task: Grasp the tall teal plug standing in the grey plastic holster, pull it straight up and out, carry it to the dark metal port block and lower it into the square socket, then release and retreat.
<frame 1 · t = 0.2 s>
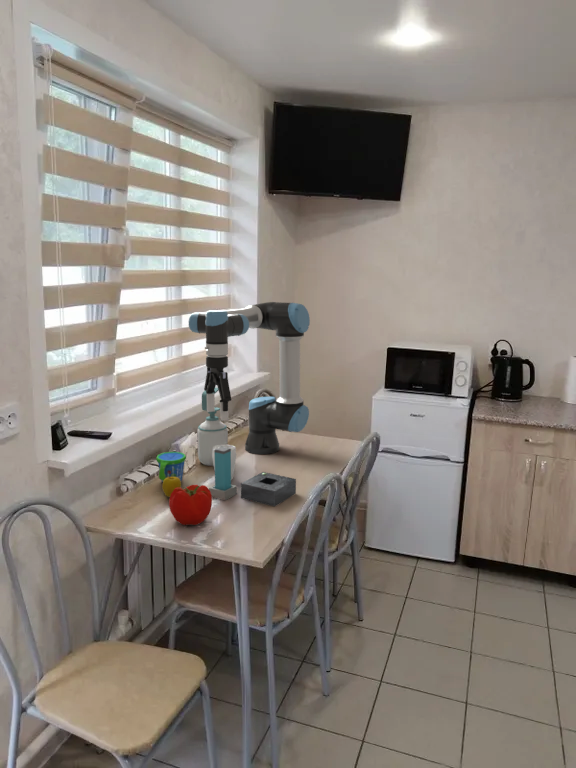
hand: (217, 415, 212), 28 cm above the table, fingers open, 13 cm apart
snack cup: (171, 482, 227), on the table
port: (268, 495, 214), on the table
cup: (224, 478, 231), on the table
apple: (172, 497, 213), on the table
tomato: (191, 521, 193), on the table
holster: (223, 494, 215), on the table
plug: (223, 495, 215), resting in holster
soap bottle: (213, 462, 249), on the table
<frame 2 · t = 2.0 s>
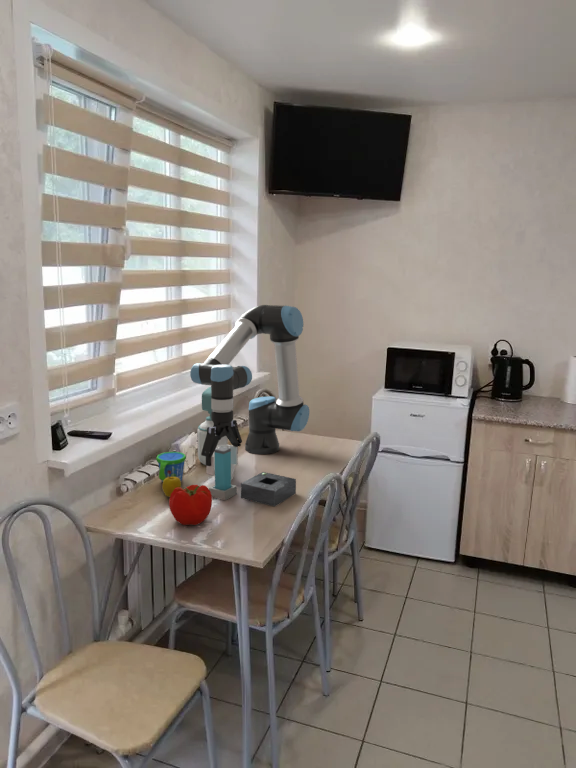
hand: (222, 469, 212), 10 cm above the table, fingers open, 13 cm apart
nothing on the table moved.
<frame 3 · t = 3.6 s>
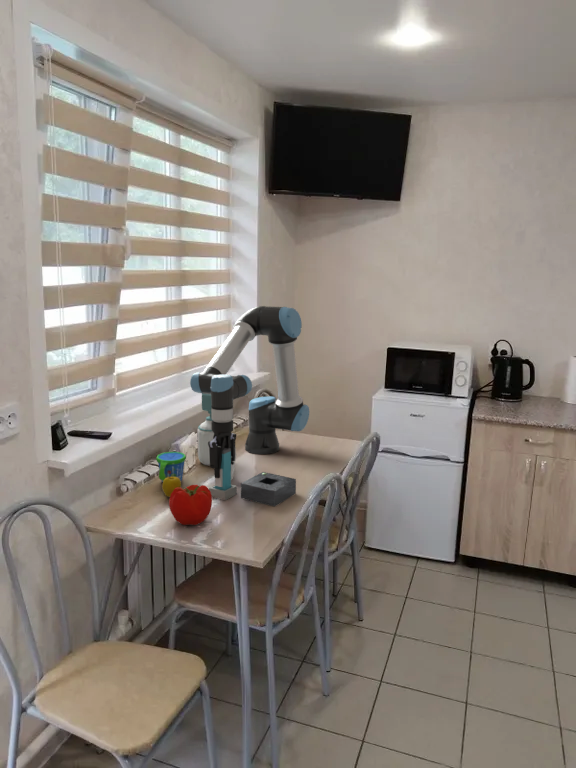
hand: (223, 483, 214), 4 cm above the table, fingers closed on plug, 4 cm apart
plug: (223, 494, 215), resting in holster, touching gripper
everything else where it was.
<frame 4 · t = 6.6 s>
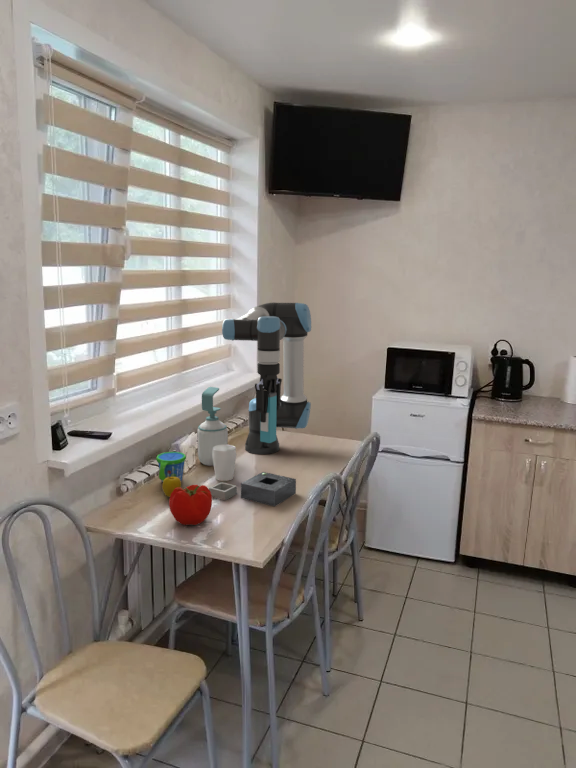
hand: (268, 429, 209), 24 cm above the table, fingers closed on plug, 4 cm apart
plug: (268, 440, 210), point 20 cm above the table, touching gripper
everything else where it was.
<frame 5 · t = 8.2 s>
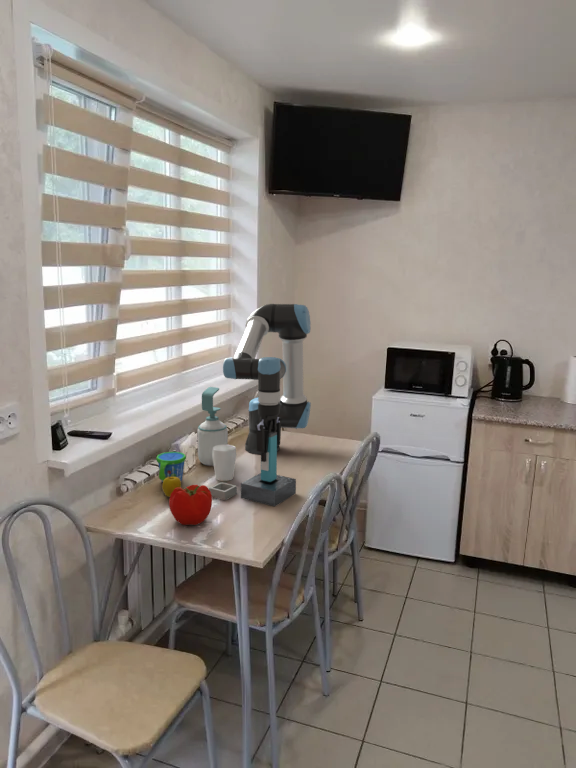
hand: (268, 467, 212), 10 cm above the table, fingers closed on plug, 4 cm apart
plug: (268, 479, 213), point 6 cm above the table, touching gripper
everything else where it was.
when the fingers open (7 cm above the table, at t = 9.4 s): plug drops 2 cm, resting on port.
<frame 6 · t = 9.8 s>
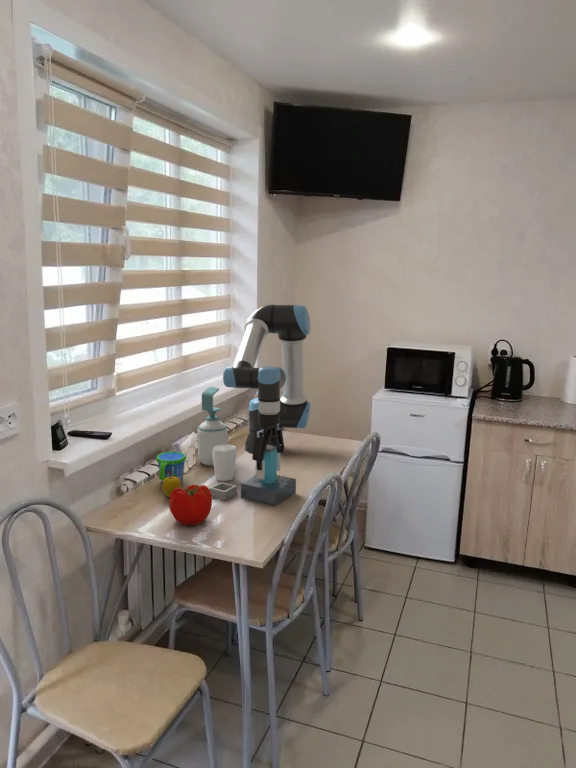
hand: (268, 474, 213), 8 cm above the table, fingers open, 9 cm apart
plug: (268, 493, 214), point 1 cm above the table, touching port
everything else where it was.
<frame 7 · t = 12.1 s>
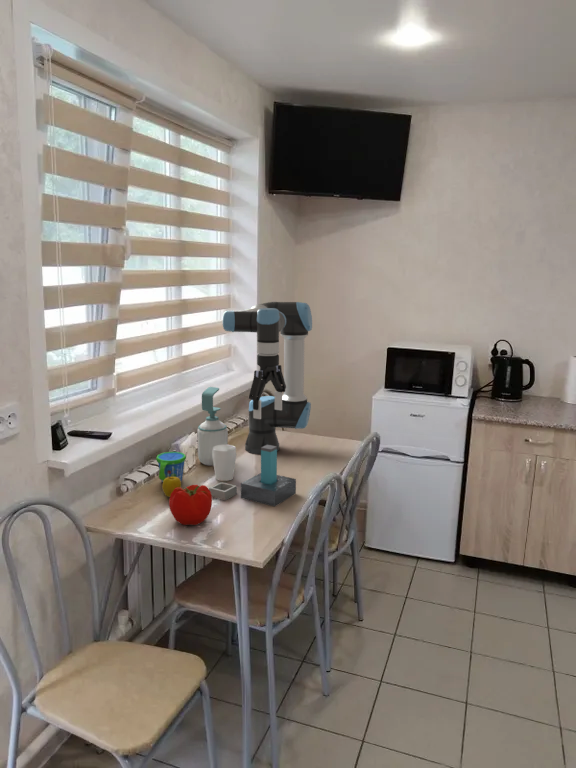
hand: (268, 414, 212), 29 cm above the table, fingers open, 13 cm apart
nothing on the table moved.
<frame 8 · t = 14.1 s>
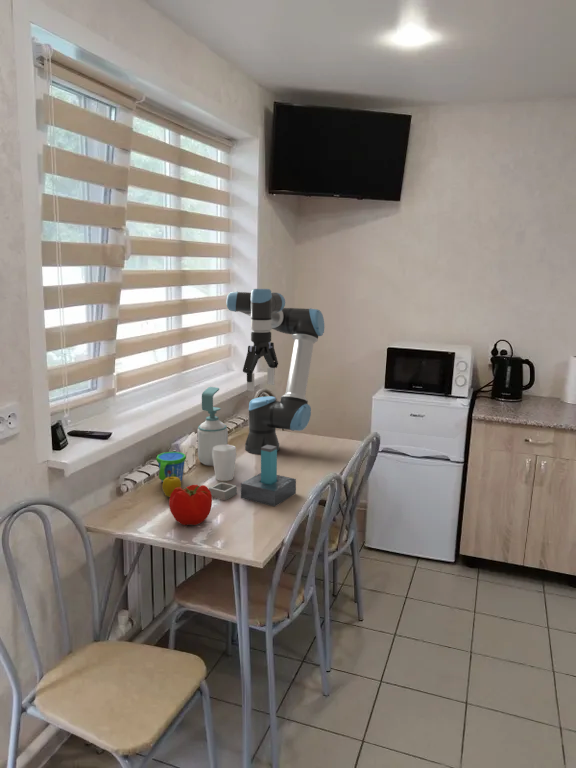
hand: (261, 387, 228), 35 cm above the table, fingers open, 13 cm apart
nothing on the table moved.
at the end: plug 0.1 cm off-centre on the port, point 1.0 cm above the port's base; plug tilted 0°; the gripper is holding nothing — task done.
